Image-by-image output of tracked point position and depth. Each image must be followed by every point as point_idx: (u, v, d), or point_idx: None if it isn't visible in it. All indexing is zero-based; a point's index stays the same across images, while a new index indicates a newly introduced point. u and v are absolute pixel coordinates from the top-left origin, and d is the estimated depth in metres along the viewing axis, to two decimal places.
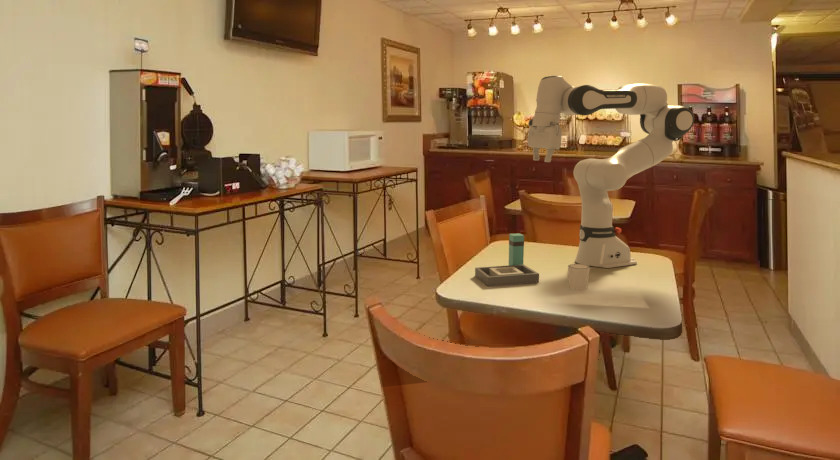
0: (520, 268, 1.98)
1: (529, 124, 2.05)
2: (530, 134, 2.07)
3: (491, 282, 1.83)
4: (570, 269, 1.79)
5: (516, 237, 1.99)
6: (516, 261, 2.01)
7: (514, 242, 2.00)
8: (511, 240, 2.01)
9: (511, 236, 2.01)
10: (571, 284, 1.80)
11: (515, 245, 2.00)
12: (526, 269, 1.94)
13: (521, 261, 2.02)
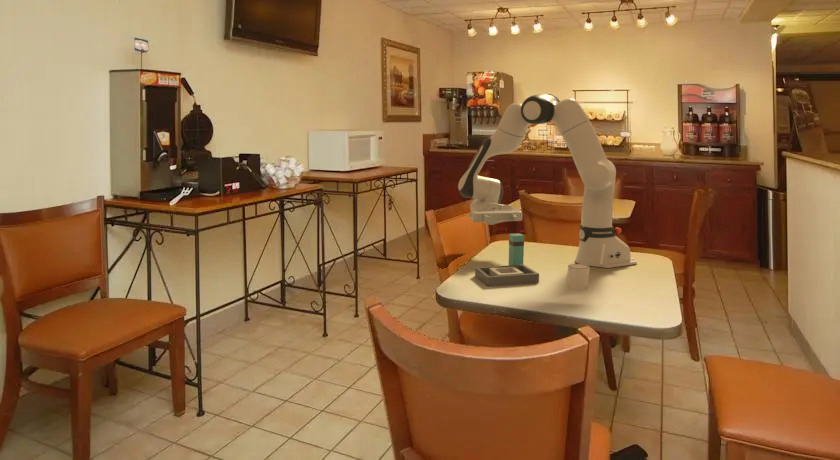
0: (520, 268, 1.98)
1: None
2: None
3: (491, 282, 1.83)
4: (570, 269, 1.79)
5: (516, 237, 1.99)
6: (516, 261, 2.01)
7: (514, 242, 2.00)
8: (511, 240, 2.01)
9: (511, 236, 2.01)
10: (571, 284, 1.80)
11: (515, 245, 2.00)
12: (526, 269, 1.94)
13: (521, 261, 2.02)
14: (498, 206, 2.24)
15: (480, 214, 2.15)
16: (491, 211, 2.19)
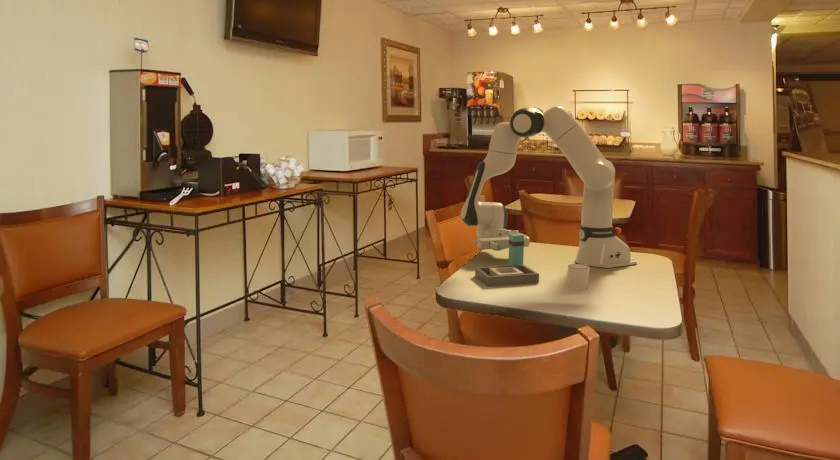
0: (520, 268, 1.98)
1: None
2: None
3: (491, 282, 1.83)
4: (570, 269, 1.79)
5: (516, 237, 1.99)
6: (516, 261, 2.01)
7: (514, 242, 2.00)
8: (511, 240, 2.01)
9: (511, 236, 2.01)
10: (571, 284, 1.80)
11: (515, 245, 2.00)
12: (526, 269, 1.94)
13: (521, 261, 2.02)
14: (505, 232, 2.20)
15: (486, 241, 2.11)
16: (498, 237, 2.15)
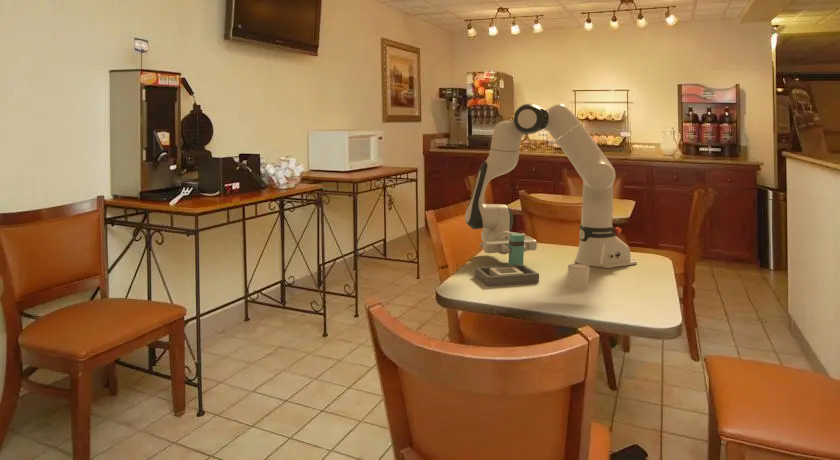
0: (520, 268, 1.98)
1: None
2: None
3: (491, 282, 1.83)
4: (570, 269, 1.79)
5: (516, 237, 1.99)
6: (516, 261, 2.01)
7: (514, 242, 2.00)
8: (511, 240, 2.01)
9: (511, 236, 2.01)
10: (571, 284, 1.80)
11: (515, 245, 2.00)
12: (526, 269, 1.94)
13: (521, 261, 2.02)
14: None
15: (492, 244, 2.04)
16: (504, 241, 2.08)
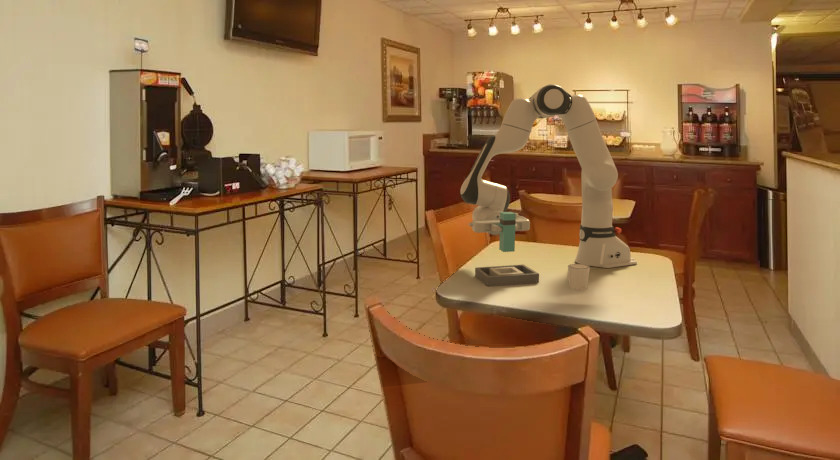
0: (520, 268, 1.98)
1: None
2: None
3: (491, 282, 1.83)
4: (570, 269, 1.79)
5: (507, 215, 1.87)
6: (507, 241, 1.89)
7: (505, 221, 1.88)
8: (502, 219, 1.89)
9: (502, 214, 1.89)
10: (571, 284, 1.80)
11: (505, 223, 1.88)
12: (526, 269, 1.94)
13: (512, 241, 1.90)
14: None
15: (482, 224, 1.92)
16: (495, 220, 1.96)
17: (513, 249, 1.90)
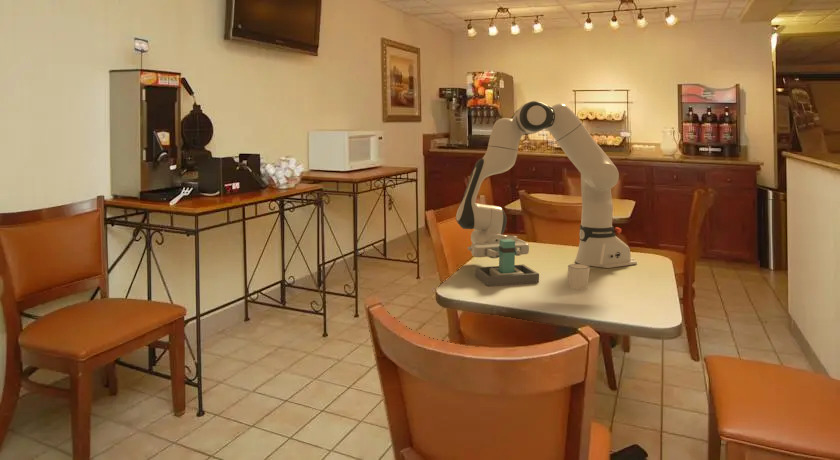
0: (520, 268, 1.98)
1: None
2: None
3: (491, 282, 1.83)
4: (570, 269, 1.79)
5: (507, 243, 1.87)
6: (507, 269, 1.89)
7: (504, 248, 1.87)
8: (501, 246, 1.89)
9: (501, 242, 1.89)
10: (571, 284, 1.80)
11: (505, 251, 1.87)
12: (526, 269, 1.94)
13: (512, 269, 1.89)
14: (502, 238, 2.01)
15: (481, 248, 1.92)
16: (494, 244, 1.96)
17: None
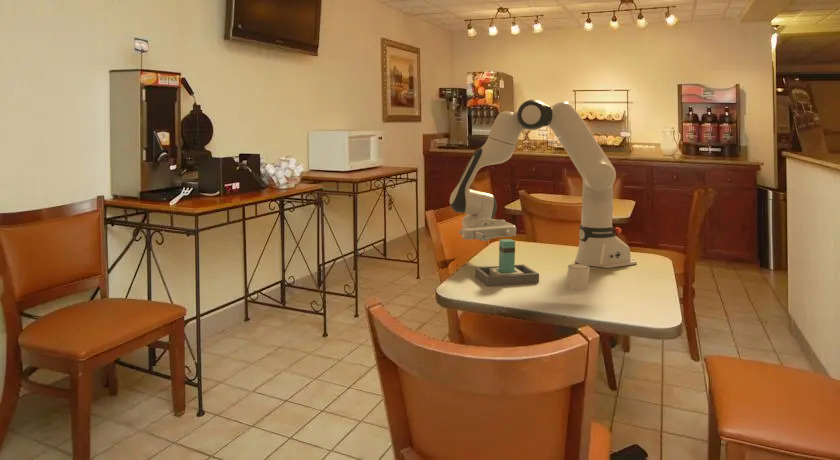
0: (520, 268, 1.98)
1: None
2: None
3: (491, 282, 1.83)
4: (570, 269, 1.79)
5: (507, 243, 1.87)
6: (507, 269, 1.89)
7: (504, 248, 1.87)
8: (501, 246, 1.89)
9: (501, 242, 1.89)
10: (571, 284, 1.80)
11: (505, 251, 1.87)
12: (526, 269, 1.94)
13: (512, 269, 1.89)
14: (490, 221, 2.13)
15: (471, 231, 2.04)
16: (483, 227, 2.08)
17: None
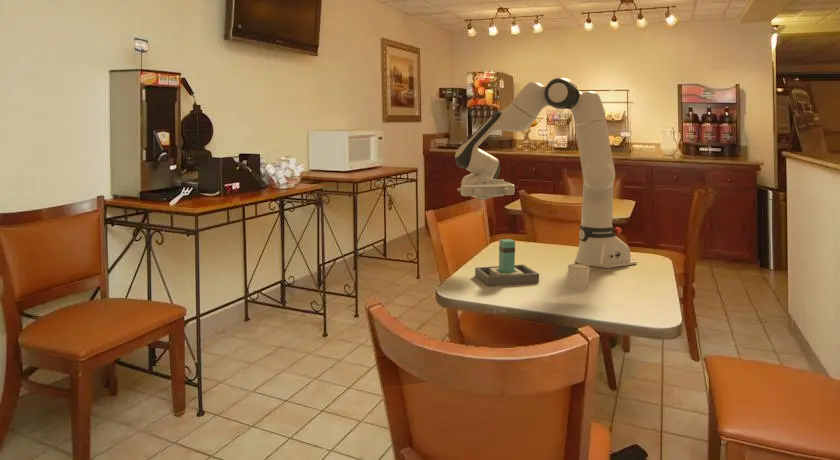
0: (520, 268, 1.98)
1: None
2: None
3: (491, 282, 1.83)
4: (570, 269, 1.79)
5: (507, 243, 1.87)
6: (507, 269, 1.89)
7: (504, 248, 1.87)
8: (501, 246, 1.89)
9: (501, 242, 1.89)
10: (571, 284, 1.80)
11: (505, 251, 1.87)
12: (526, 269, 1.94)
13: (512, 269, 1.89)
14: (489, 180, 2.13)
15: (470, 187, 2.04)
16: (482, 185, 2.08)
17: None
